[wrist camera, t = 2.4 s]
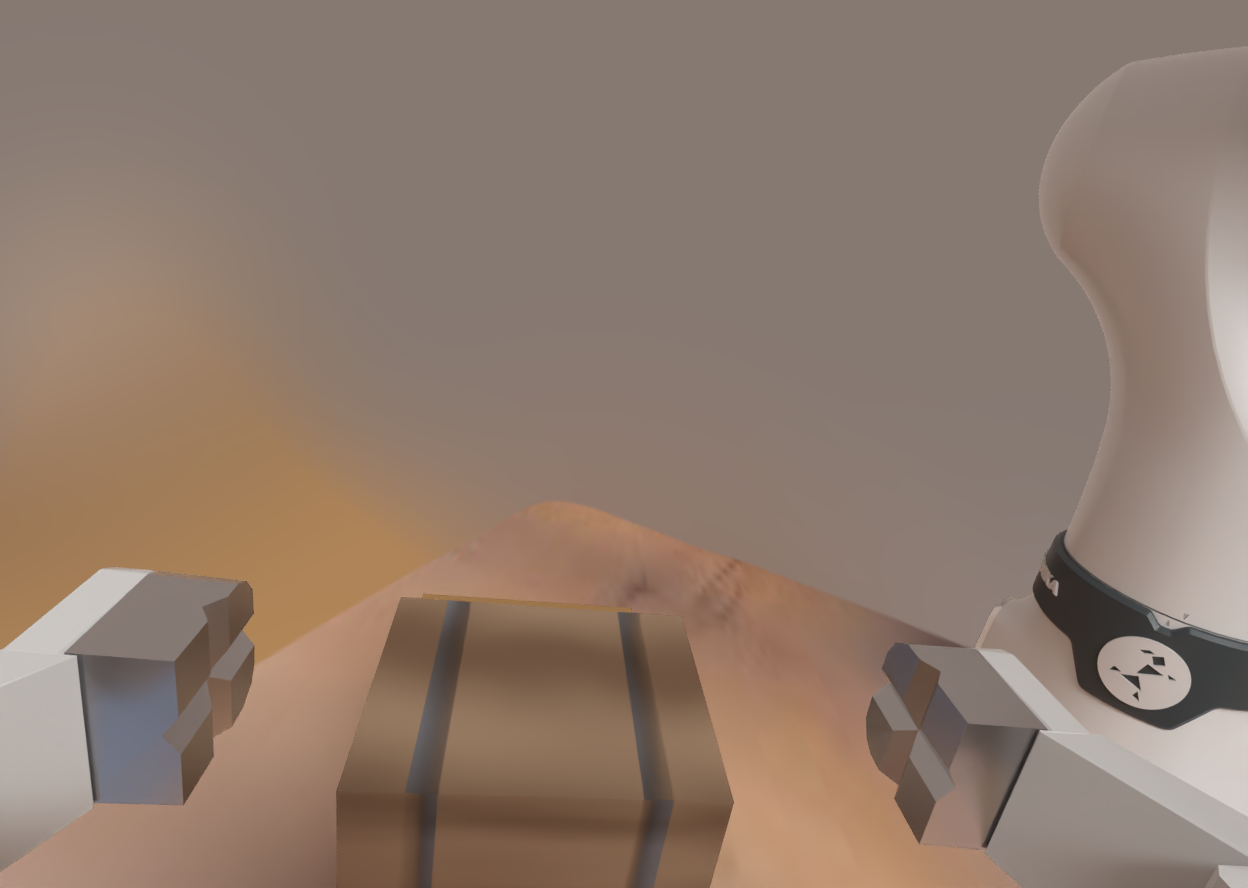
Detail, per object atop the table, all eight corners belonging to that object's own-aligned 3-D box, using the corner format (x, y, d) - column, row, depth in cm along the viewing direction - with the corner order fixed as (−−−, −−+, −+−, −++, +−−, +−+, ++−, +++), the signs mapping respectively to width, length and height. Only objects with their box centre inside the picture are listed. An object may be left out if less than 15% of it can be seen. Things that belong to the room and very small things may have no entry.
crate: (657, 1070, 23) (733, 802, 18) (337, 1079, 21) (336, 791, 17) (631, 846, 30) (681, 615, 26) (391, 841, 29) (401, 597, 24)
